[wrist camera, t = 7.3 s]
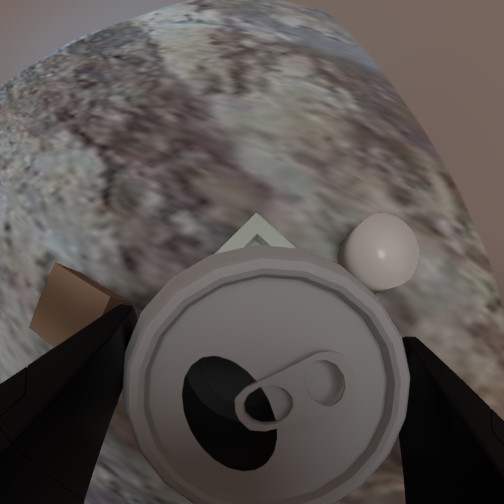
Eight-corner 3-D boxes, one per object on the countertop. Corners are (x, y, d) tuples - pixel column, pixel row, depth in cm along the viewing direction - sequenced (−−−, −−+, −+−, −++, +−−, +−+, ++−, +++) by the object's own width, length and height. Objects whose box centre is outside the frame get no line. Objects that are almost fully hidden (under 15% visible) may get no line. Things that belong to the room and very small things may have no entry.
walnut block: (106, 361, 20) (81, 366, 16) (58, 329, 20) (29, 327, 16) (132, 302, 21) (110, 296, 17) (81, 273, 21) (55, 262, 17)
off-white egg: (372, 307, 21) (393, 303, 18) (324, 262, 22) (338, 250, 19) (407, 259, 22) (430, 248, 19) (362, 216, 23) (380, 199, 20)
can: (167, 322, 17) (51, 298, 6) (285, 274, 18) (357, 176, 7) (217, 435, 16) (189, 569, 4) (334, 386, 17) (464, 447, 5)
